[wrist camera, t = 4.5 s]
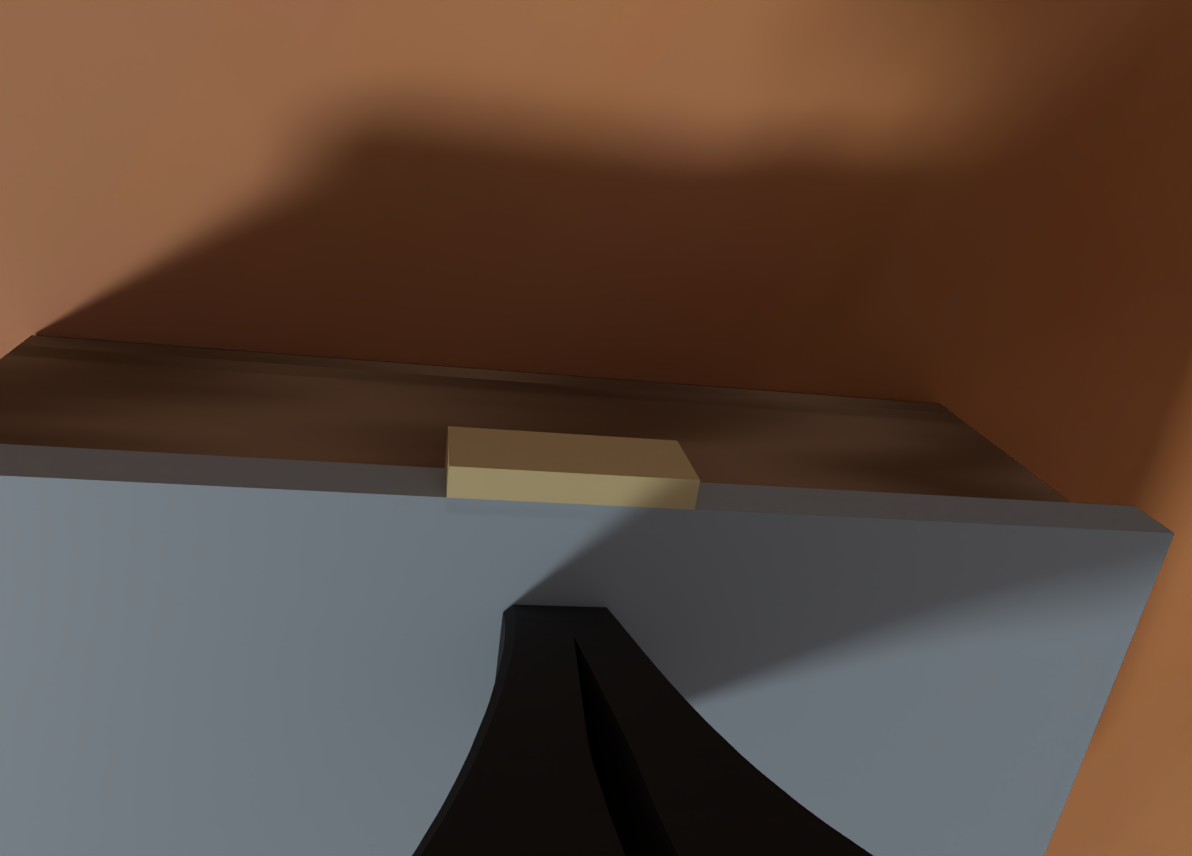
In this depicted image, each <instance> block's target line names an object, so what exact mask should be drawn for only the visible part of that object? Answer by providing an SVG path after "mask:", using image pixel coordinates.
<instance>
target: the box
mask: <svg viewBox="0 0 1192 856" xmlns="http://www.w3.org/2000/svg"><path fill="white" fill-rule="evenodd" d="M448 426H453V427H469V428H485V429H500V430H516V431H532V432H548V433H563V434H579V435H595V436H611V437H626V438H642V439H658V440H673V441H678V443H679V445H680V446H681V448H682V450H683V451H684V453H685V455H686V457H687V458H688V460H689V462H690V463H691V465H692V467H693V469H694V470H695V472H696V474H697V475H698V477H699V479H700V482H703V483H722V484H740V485H758V486H776V487H794V488H812V489H831V490H849V491H867V492H885V493H903V494H921V495H940V496H958V497H976V498H994V499H1012V500H1031V501H1049V502H1067V503H1071V502H1070V501H1068V500H1067V499H1066V498H1064V497H1063V496H1062V495H1060V494H1059V493H1058V492H1056V491H1055V490H1054V489H1052V488H1051V487H1050V486H1048V485H1047V484H1046V483H1044V482H1043V481H1042V480H1040V479H1039V478H1038V477H1036V476H1035V475H1034V474H1032V473H1031V472H1030V471H1028V470H1027V469H1026V468H1025V467H1023V466H1022V465H1021V464H1019V463H1018V462H1017V461H1015V460H1014V459H1013V458H1011V457H1010V456H1009V455H1007V454H1006V453H1005V452H1003V451H1002V450H1001V449H999V448H998V447H997V446H995V445H994V444H993V443H991V442H990V441H989V440H987V439H986V438H985V437H983V436H982V435H981V434H979V433H978V432H977V431H975V430H974V429H973V428H971V427H970V426H969V425H967V424H966V423H965V422H963V421H962V420H961V419H959V418H958V417H957V416H955V415H954V414H953V413H951V412H950V411H949V410H947V409H946V408H945V407H943V406H942V405H941V404H935V403H921V402H908V401H895V400H882V399H868V398H855V397H842V396H829V395H815V394H802V393H789V392H776V391H762V390H749V389H736V388H723V387H710V386H696V385H683V384H670V383H657V382H643V381H630V380H617V379H604V378H590V377H577V376H564V375H551V374H537V373H524V372H511V371H498V370H484V369H471V368H458V367H445V366H432V365H418V364H405V363H392V362H379V361H365V360H352V359H339V358H326V357H312V356H299V355H286V354H273V353H259V352H246V351H233V350H220V349H207V348H193V347H180V346H167V345H154V344H140V343H127V342H114V341H101V340H87V339H74V338H61V337H48V336H34V335H31V336H30V337H29V338H27V339H26V340H25V341H24V342H22V343H21V344H20V345H18V346H17V347H16V348H14V349H13V350H12V351H10V352H9V353H8V354H7V355H5V356H4V357H3V358H1V359H0V444H13V445H31V446H49V447H67V448H85V449H104V450H122V451H140V452H158V453H176V454H195V455H213V456H231V457H249V458H267V459H285V460H304V461H322V462H340V463H358V464H376V465H394V466H413V467H431V468H445V457H446V445H447V432H448Z"/></svg>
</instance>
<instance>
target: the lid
mask: <svg viewBox="0 0 1192 856" xmlns="http://www.w3.org/2000/svg"><path fill="white" fill-rule="evenodd" d="M1173 536H1174V533H1173V532H1172V531H1170V530H1169V529H1168V528H1166V527H1165V526H1163V525H1162V524H1160V523H1159V522H1157V521H1156V520H1154V519H1153V518H1151V517H1150V516H1148V515H1147V514H1145V513H1144V512H1143V511H1141V510H1140V509H1138V508H1137V507H1135V506H1121V505H1103V504H1085V503H1067V502H1049V501H1031V500H1012V499H994V498H976V497H958V496H940V495H921V494H903V493H885V492H867V491H849V490H831V489H812V488H794V487H776V486H758V485H740V484H722V483H703V482H700V479H699V477H698V475H697V474H696V472H695V470H694V469H693V467H692V465H691V463H690V462H689V460H688V458H687V457H686V455H685V453H684V451H683V450H682V448H681V446H680V445H679V443H678V441H673V440H658V439H642V438H626V437H611V436H595V435H579V434H563V433H548V432H532V431H516V430H500V429H485V428H469V427H453V426H448V432H447V445H446V457H445V468H431V467H413V466H394V465H376V464H358V463H340V462H322V461H304V460H285V459H267V458H249V457H231V456H213V455H195V454H176V453H158V452H140V451H122V450H104V449H85V448H67V447H49V446H31V445H13V444H0V856H412V855H413V853H414V852H415V850H416V848H417V847H418V845H419V844H420V842H421V840H422V839H423V837H424V835H425V834H426V832H427V830H428V829H429V827H430V825H431V824H432V822H433V820H434V819H435V817H436V815H437V814H438V812H439V810H440V809H441V807H442V805H443V803H444V801H445V799H446V798H447V796H448V794H449V792H450V790H451V788H452V786H453V784H454V783H455V781H456V779H457V777H458V774H459V772H460V770H461V768H462V766H463V764H464V762H465V760H466V758H467V756H468V753H469V751H470V749H471V746H472V744H473V741H474V739H475V737H476V734H477V732H478V729H479V727H480V724H481V722H482V719H483V717H484V714H485V712H486V709H487V706H488V704H489V701H490V697H491V694H492V691H493V687H494V684H495V678H496V669H497V660H498V651H499V642H500V633H501V625H502V616H503V612H504V611H505V610H506V609H508V608H509V607H510V606H512V605H542V606H577V607H607V608H608V609H609V611H610V612H611V613H612V614H613V615H614V616H615V618H616V619H617V620H618V621H619V622H620V624H621V625H622V626H623V627H624V628H625V630H626V631H627V632H628V633H629V634H630V636H631V637H632V638H633V639H634V640H635V642H636V643H637V644H638V645H639V646H640V648H641V649H642V650H643V651H644V652H645V654H646V655H647V656H648V657H649V658H650V660H651V661H652V662H653V663H654V664H655V666H656V667H657V668H658V669H659V670H660V671H661V673H662V674H663V675H664V676H665V677H666V678H667V679H668V681H669V682H670V683H671V684H672V685H673V686H674V687H675V688H676V689H677V690H678V692H679V693H680V694H681V695H682V696H683V697H684V698H685V699H686V700H687V701H688V703H689V704H690V705H691V706H692V707H693V708H694V709H695V710H696V711H697V712H698V713H699V714H700V715H701V716H702V717H703V718H704V719H705V720H706V721H707V722H708V723H709V724H710V725H711V726H712V727H713V728H714V729H715V730H716V731H717V732H718V733H719V734H720V735H721V736H722V737H723V738H724V739H725V740H726V741H727V742H728V743H729V744H731V745H732V746H733V747H734V748H735V749H736V750H737V751H738V752H739V753H740V754H741V755H742V756H743V757H744V758H745V759H747V760H748V761H749V762H750V763H751V764H752V765H753V766H755V767H756V768H757V769H758V770H759V771H760V772H761V773H763V774H764V775H765V776H766V777H768V778H769V779H770V780H771V781H773V782H774V783H775V784H776V785H777V786H779V787H780V788H781V789H782V790H784V791H785V792H786V793H787V794H789V795H790V796H791V797H792V798H793V799H795V800H796V801H797V802H798V803H800V804H801V805H802V806H804V807H805V808H806V809H808V810H809V811H810V812H812V813H813V814H814V815H816V816H817V817H818V818H820V819H821V820H822V821H824V822H825V823H826V824H828V825H829V826H831V827H832V828H834V829H835V830H837V831H838V832H840V833H841V834H843V835H844V836H845V837H847V838H848V839H850V840H851V841H853V842H854V843H856V844H857V845H859V846H860V847H862V848H863V849H864V850H866V851H867V852H869V853H870V854H872V855H873V856H1044V854H1045V852H1046V849H1047V847H1048V845H1049V842H1050V840H1051V837H1052V835H1053V832H1054V830H1055V827H1056V825H1057V822H1058V820H1059V817H1060V815H1061V812H1062V810H1063V807H1064V805H1065V803H1066V800H1067V798H1068V795H1069V793H1070V790H1071V788H1072V785H1073V783H1074V780H1075V778H1076V775H1077V773H1078V770H1079V768H1080V765H1081V763H1082V761H1083V758H1084V756H1085V753H1086V751H1087V748H1088V746H1089V743H1090V741H1091V738H1092V736H1093V733H1094V731H1095V728H1096V726H1097V724H1098V721H1099V719H1100V716H1101V714H1102V711H1103V709H1104V706H1105V704H1106V701H1107V699H1108V696H1109V694H1110V691H1111V689H1112V686H1113V684H1114V682H1115V679H1116V677H1117V674H1118V672H1119V669H1120V667H1121V664H1122V662H1123V659H1124V657H1125V654H1126V652H1127V649H1128V647H1129V644H1130V642H1131V640H1132V637H1133V635H1134V632H1135V630H1136V627H1137V625H1138V622H1139V620H1140V617H1141V615H1142V612H1143V610H1144V607H1145V605H1146V602H1147V600H1148V598H1149V595H1150V593H1151V590H1152V588H1153V585H1154V583H1155V580H1156V578H1157V575H1158V573H1159V570H1160V568H1161V565H1162V563H1163V561H1164V558H1165V556H1166V553H1167V551H1168V548H1169V546H1170V543H1171V541H1172V538H1173Z"/></svg>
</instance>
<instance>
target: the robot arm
mask: <svg viewBox="0 0 1192 856" xmlns="http://www.w3.org/2000/svg"><path fill="white" fill-rule="evenodd" d="M412 856H873V855H872V854H870V853H869V852H867V851H866V850H864V849H863V848H862V847H860V846H859V845H857V844H856V843H854V842H853V841H851V840H850V839H848V838H847V837H845V836H844V835H843V834H841V833H840V832H838V831H837V830H835V829H834V828H832V827H831V826H829V825H828V824H826V823H825V822H824V821H822V820H821V819H820V818H818V817H817V816H816V815H814V814H813V813H812V812H810V811H809V810H808V809H806V808H805V807H804V806H802V805H801V804H800V803H798V802H797V801H796V800H795V799H793V798H792V797H791V796H790V795H789V794H787V793H786V792H785V791H784V790H782V789H781V788H780V787H779V786H777V785H776V784H775V783H774V782H773V781H771V780H770V779H769V778H768V777H766V776H765V775H764V774H763V773H761V772H760V771H759V770H758V769H757V768H756V767H755V766H753V765H752V764H751V763H750V762H749V761H748V760H747V759H745V758H744V757H743V756H742V755H741V754H740V753H739V752H738V751H737V750H736V749H735V748H734V747H733V746H732V745H731V744H729V743H728V742H727V741H726V740H725V739H724V738H723V737H722V736H721V735H720V734H719V733H718V732H717V731H716V730H715V729H714V728H713V727H712V726H711V725H710V724H709V723H708V722H707V721H706V720H705V719H704V718H703V717H702V716H701V715H700V714H699V713H698V712H697V711H696V710H695V709H694V708H693V707H692V706H691V705H690V704H689V703H688V701H687V700H686V699H685V698H684V697H683V696H682V695H681V694H680V693H679V692H678V690H677V689H676V688H675V687H674V686H673V685H672V684H671V683H670V682H669V681H668V679H667V678H666V677H665V676H664V675H663V674H662V673H661V671H660V670H659V669H658V668H657V667H656V666H655V664H654V663H653V662H652V661H651V660H650V658H649V657H648V656H647V655H646V654H645V652H644V651H643V650H642V649H641V648H640V646H639V645H638V644H637V643H636V642H635V640H634V639H633V638H632V637H631V636H630V634H629V633H628V632H627V631H626V630H625V628H624V627H623V626H622V625H621V624H620V622H619V621H618V620H617V619H616V618H615V616H614V615H613V614H612V613H611V612H610V611H609V609H608V608H607V607H577V606H542V605H512V606H510V607H509V608H508V609H506V610H505V611H504V612H503V616H502V625H501V633H500V642H499V651H498V660H497V669H496V678H495V684H494V687H493V691H492V694H491V697H490V701H489V704H488V706H487V709H486V712H485V714H484V717H483V719H482V722H481V724H480V727H479V729H478V732H477V734H476V737H475V739H474V741H473V744H472V746H471V749H470V751H469V753H468V756H467V758H466V760H465V762H464V764H463V766H462V768H461V770H460V772H459V774H458V777H457V779H456V781H455V783H454V784H453V786H452V788H451V790H450V792H449V794H448V796H447V798H446V799H445V801H444V803H443V805H442V807H441V809H440V810H439V812H438V814H437V815H436V817H435V819H434V820H433V822H432V824H431V825H430V827H429V829H428V830H427V832H426V834H425V835H424V837H423V839H422V840H421V842H420V844H419V845H418V847H417V848H416V850H415V852H414V853H413V855H412Z"/></svg>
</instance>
